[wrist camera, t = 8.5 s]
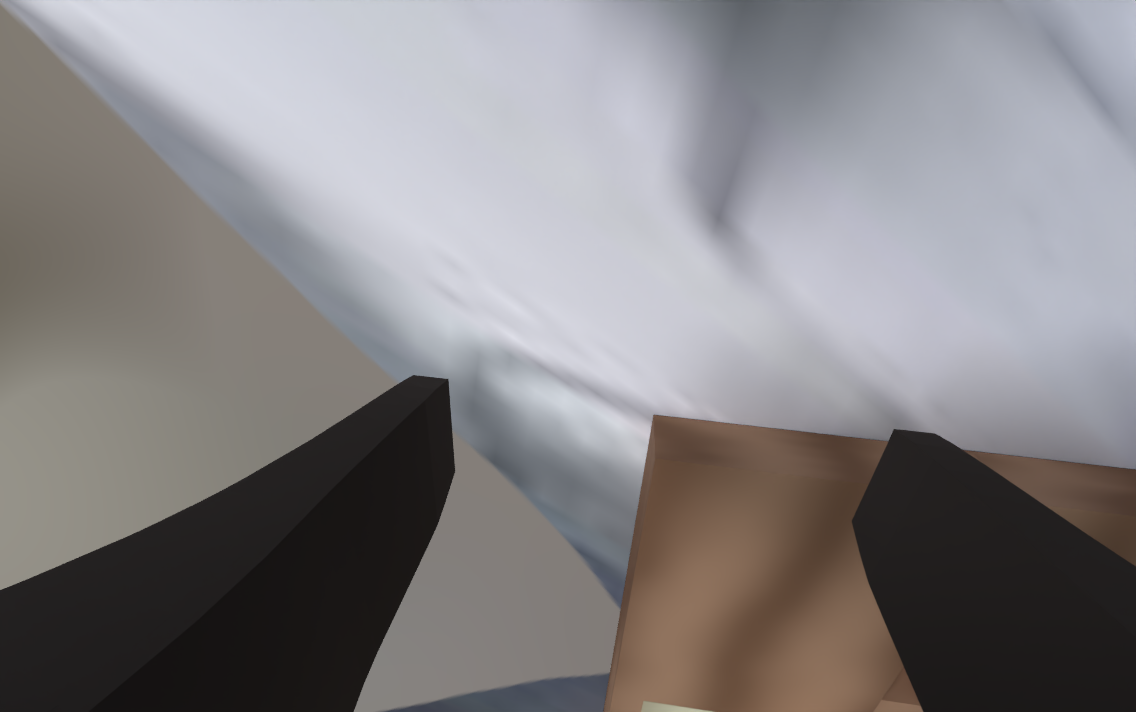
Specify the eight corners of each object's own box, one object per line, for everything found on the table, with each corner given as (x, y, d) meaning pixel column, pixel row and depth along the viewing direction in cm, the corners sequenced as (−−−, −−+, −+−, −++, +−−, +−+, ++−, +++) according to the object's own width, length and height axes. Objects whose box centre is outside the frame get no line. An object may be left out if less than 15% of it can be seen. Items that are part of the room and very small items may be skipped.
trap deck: (1257, 483, 18) (1341, 541, 16) (946, 804, 31) (968, 860, 29) (653, 415, 20) (655, 458, 18) (597, 747, 33) (594, 796, 31)
